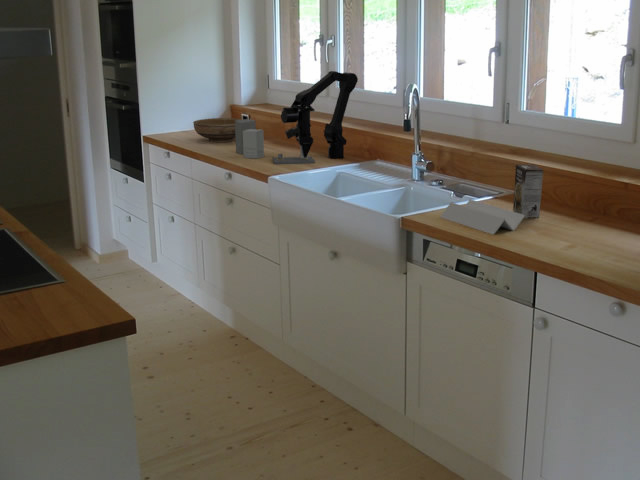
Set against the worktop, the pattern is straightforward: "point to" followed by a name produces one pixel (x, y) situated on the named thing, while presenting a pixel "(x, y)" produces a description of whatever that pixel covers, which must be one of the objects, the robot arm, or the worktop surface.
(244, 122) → the skincare box
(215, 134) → the wooden bowl
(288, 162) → the plate
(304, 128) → the robot arm
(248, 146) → the supplement box
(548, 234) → the worktop surface
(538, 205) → the coffee box
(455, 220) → the z bracket
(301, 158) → the block
